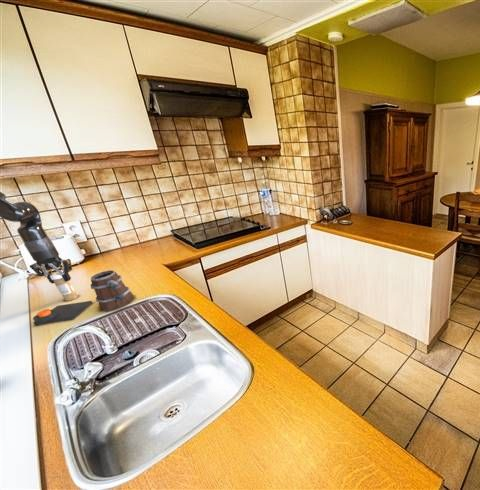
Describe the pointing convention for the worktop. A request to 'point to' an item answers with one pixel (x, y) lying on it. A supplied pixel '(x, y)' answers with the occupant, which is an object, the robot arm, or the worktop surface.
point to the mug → (110, 290)
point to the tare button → (44, 313)
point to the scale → (62, 313)
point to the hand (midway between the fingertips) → (61, 281)
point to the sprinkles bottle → (63, 287)
